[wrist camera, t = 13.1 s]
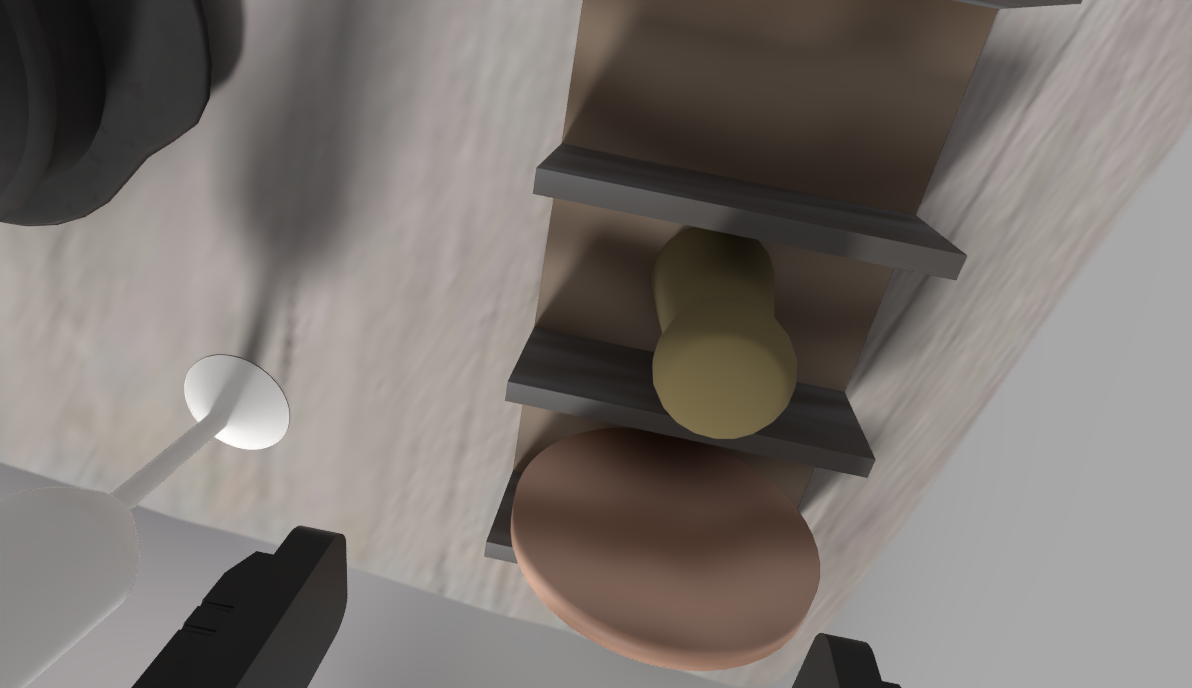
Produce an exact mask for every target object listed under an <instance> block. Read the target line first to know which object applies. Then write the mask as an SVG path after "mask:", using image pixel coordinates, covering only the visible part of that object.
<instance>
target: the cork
mask: <svg viewBox="0 0 1192 688" xmlns="http://www.w3.org/2000/svg"><path fill="white" fill-rule="evenodd" d="M774 288H775V272H774V268H773V265H772V262H771V259H770V256H769V253H768V252H767V251H766V249H765V248H764V247H763V245H762V244H761V243H760V242H759V240H757V239H752V238H747V237H742V236H737V235H732V234H728V233H723V232H718V231H713V230H708V229H703V228H698V227H692V228H689V229H686V230H684V231H682V232H681V233H679V234H678V235H677V236H675V237H674V238H673V239H671V240H670V241H669V242H667V244H666V245H665V246H664V248H663V249H662V251H661V252H660V253H659V255H658V256H657V258H656V260H655V264H654V267H653V271H652V274H651V290H652V297H653V301H654V304H655V308H656V312H657V315H658V319H659V323H660V327H661V330H662V335H661V336H660V338H659V340H658V344H657V347H656V350H655V353H654V356H653V363H652V365H653V384H654V386H655V389H656V391H657V394H658V396H659V398H660V401H661V403H662V405H663V408H664V409H665V410H666V411H667V412H668V413H669V414H670V415H671V417H672V418H673V419H674V420H675V421H676V422H677V423H679V424H680V425H682V426H684V427H685V428H687V429H689V430H690V431H692V432H694V433H696V434H700V435H704V436H707V437H711V438H715V439H736V438H739V437H743V436H747V435H750V434H754V433H755V432H757V431H759V430H760V429H762V428H764V427H766V426H767V425H769V424H771V423H772V422H774V420H775V419H776V418H777V417H778V416H779V415H780V414H781V413H782V412H783V411H784V410H785V408H786V407H787V406H788V403H789V401H790V399H791V397H792V394H793V392H794V390H795V386H796V376H797V359H796V356H795V353H794V349H793V346H792V343H791V340H790V338H789V336H788V334H787V333H786V332H785V330H784V329H783V328H782V326H781V325H780V324H779V323H778V321H777V320H776V319H775V318H774Z"/></svg>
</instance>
